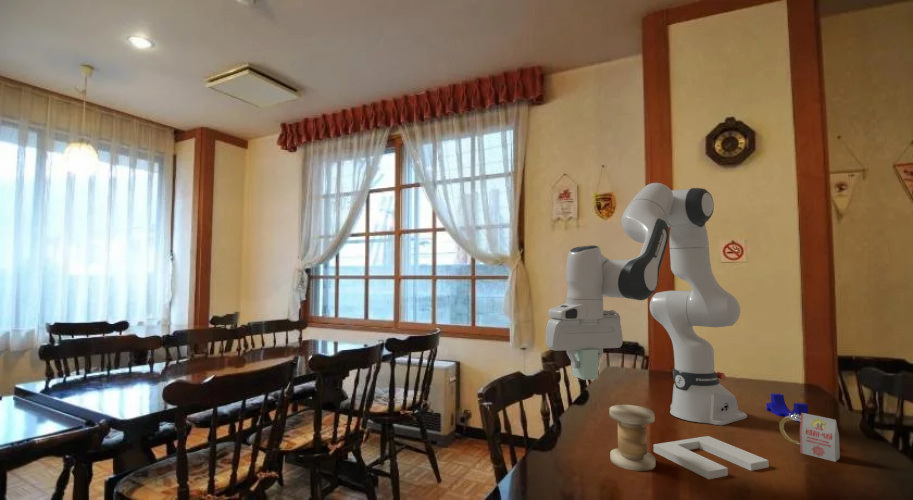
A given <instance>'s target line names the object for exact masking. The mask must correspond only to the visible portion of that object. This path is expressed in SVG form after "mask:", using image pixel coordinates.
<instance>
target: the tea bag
mask: <svg viewBox="0 0 913 500" xmlns="http://www.w3.org/2000/svg"><path fill="white" fill-rule="evenodd" d="M799 442H800V444H799V452H800V454H803V455H807V456H812V457H815V458H820V459H822V460H823V459H824V460H827V461H831V462H834V463H836V462H838V460H840V458H841V455H840V452H841V451H840V433H839V428H838V424H837V419H835V418H834V419H833V418H829V417H825V416H820V415H816V414H815V415H814V414H809V413H808V414H806V413H801V421H800V423H799Z"/></svg>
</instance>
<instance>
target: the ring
mask: <svg viewBox="0 0 913 500" xmlns="http://www.w3.org/2000/svg"><path fill="white" fill-rule="evenodd" d="M794 420H795V421H796V422H797V421H801V415H800V416H799V414H798V415H796V413H794V414H792V415H791V414H790V413H789V416H786V417H785V416H784V417H783V418H782V419H781V420H780V421H779V424H778V426H779V427H778V428H779V431H780V433H781V435H782V437H783V438H784V439H785V440H786V441H788V442H790V443H793V444H797V445H800V441H799V440H794V439H792V438H791V437H789V435H788V434H787V433H786V431H785V427H784V426H785V423H786V422H789V421H794Z"/></svg>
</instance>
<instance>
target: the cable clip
mask: <svg viewBox="0 0 913 500" xmlns="http://www.w3.org/2000/svg"><path fill="white" fill-rule="evenodd" d="M766 411H767V412H770V413H771V414H773V415H775V416H778V417H784V418H785V417H786V416H789V413H790V414H791V415H792V414H794V413H796V415H798V414H799V416H800V415H801V413H806V414H809V404H808V403H805V402H794V403H793V409H792V410H790V408H788V406H787V403H786V401H785V397H784V394H782V393H770V402H766ZM793 421H795V420H793ZM796 423H798V424H800V421H796Z"/></svg>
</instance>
